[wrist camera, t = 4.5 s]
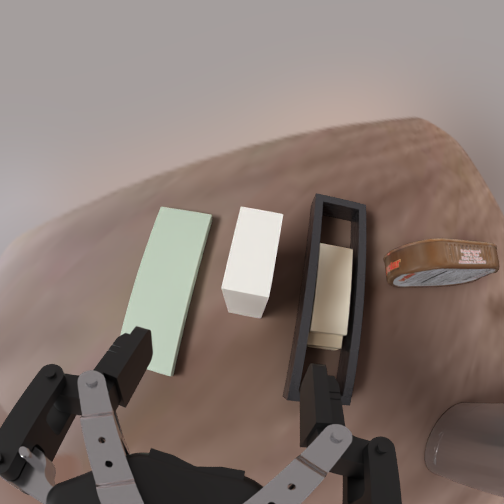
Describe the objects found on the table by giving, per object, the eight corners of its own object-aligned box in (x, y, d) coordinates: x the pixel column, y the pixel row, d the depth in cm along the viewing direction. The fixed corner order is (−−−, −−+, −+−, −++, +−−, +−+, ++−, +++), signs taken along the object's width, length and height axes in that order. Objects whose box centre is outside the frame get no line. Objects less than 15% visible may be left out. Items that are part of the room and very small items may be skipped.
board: (212, 219, 29) (211, 214, 28) (173, 375, 22) (170, 376, 22) (163, 211, 29) (161, 206, 28) (119, 358, 23) (115, 357, 22)
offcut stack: (342, 257, 28) (352, 245, 25) (334, 350, 24) (344, 348, 21) (313, 251, 28) (320, 239, 25) (301, 346, 24) (308, 344, 21)
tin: (465, 266, 27) (507, 239, 20) (469, 289, 26) (514, 266, 18) (369, 264, 27) (409, 228, 19) (372, 293, 26) (416, 265, 18)
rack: (357, 216, 29) (365, 204, 27) (340, 401, 22) (349, 405, 20) (310, 206, 30) (315, 193, 27) (282, 396, 22) (286, 399, 20)
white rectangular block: (271, 258, 27) (283, 214, 19) (260, 318, 25) (269, 297, 17) (241, 252, 27) (240, 206, 19) (228, 312, 25) (221, 288, 17)
